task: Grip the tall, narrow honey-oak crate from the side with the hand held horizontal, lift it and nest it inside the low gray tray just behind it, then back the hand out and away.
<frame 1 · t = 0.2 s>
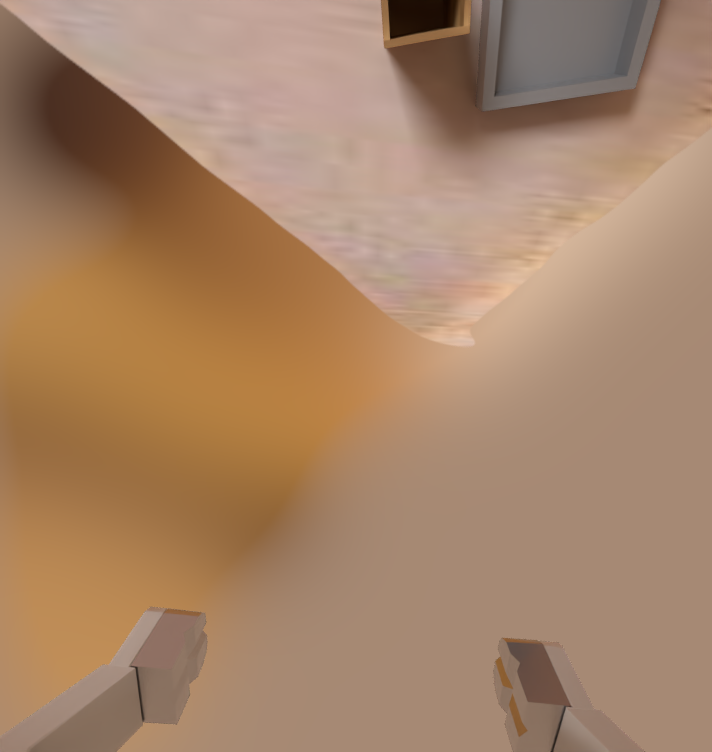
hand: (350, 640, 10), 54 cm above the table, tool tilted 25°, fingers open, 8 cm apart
oak crate: (414, 2, 40), on the table
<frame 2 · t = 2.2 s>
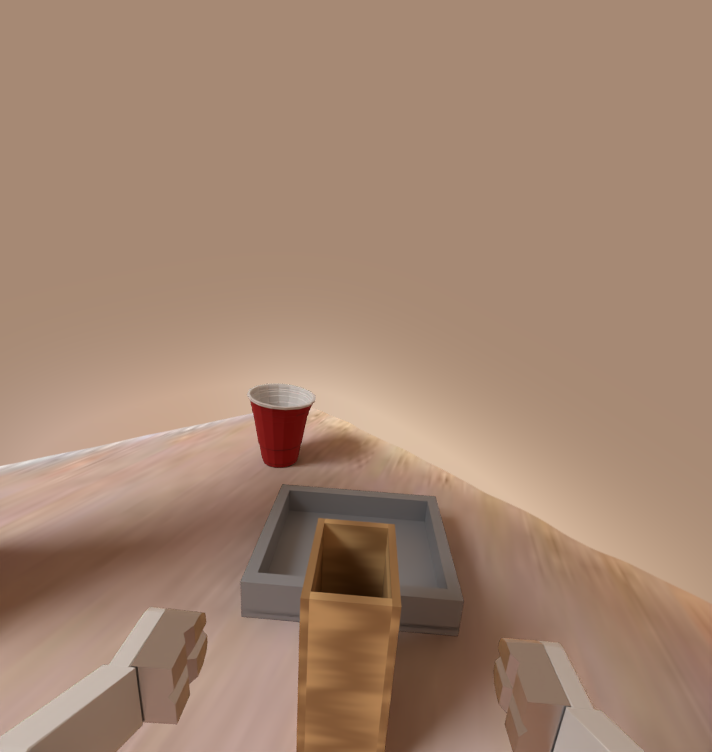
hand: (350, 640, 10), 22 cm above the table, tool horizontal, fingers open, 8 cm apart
oak crate: (342, 712, 28), on the table
plastic cup: (281, 460, 64), on the table
gray tray: (353, 561, 42), on the table
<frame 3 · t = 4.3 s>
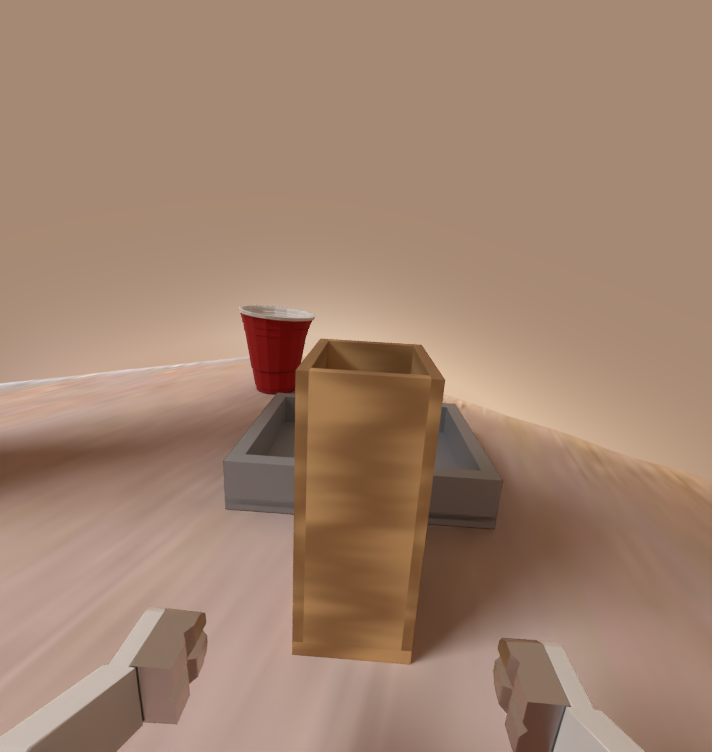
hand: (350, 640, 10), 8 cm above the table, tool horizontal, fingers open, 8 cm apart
oak crate: (354, 597, 21), on the table
plastic cup: (277, 389, 57), on the table
gray tray: (361, 465, 36), on the table
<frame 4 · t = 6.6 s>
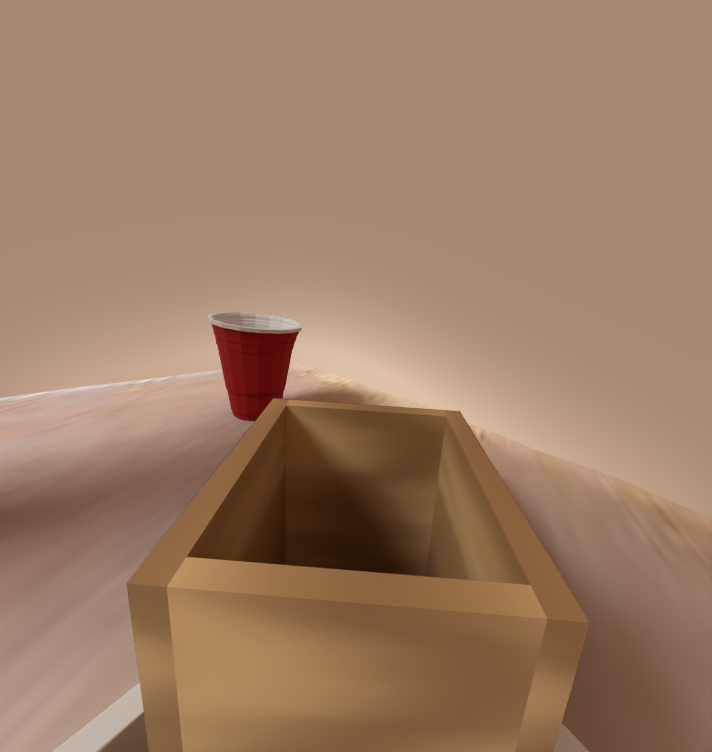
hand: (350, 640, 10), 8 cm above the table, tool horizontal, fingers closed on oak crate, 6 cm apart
plastic cup: (258, 413, 47), on the table
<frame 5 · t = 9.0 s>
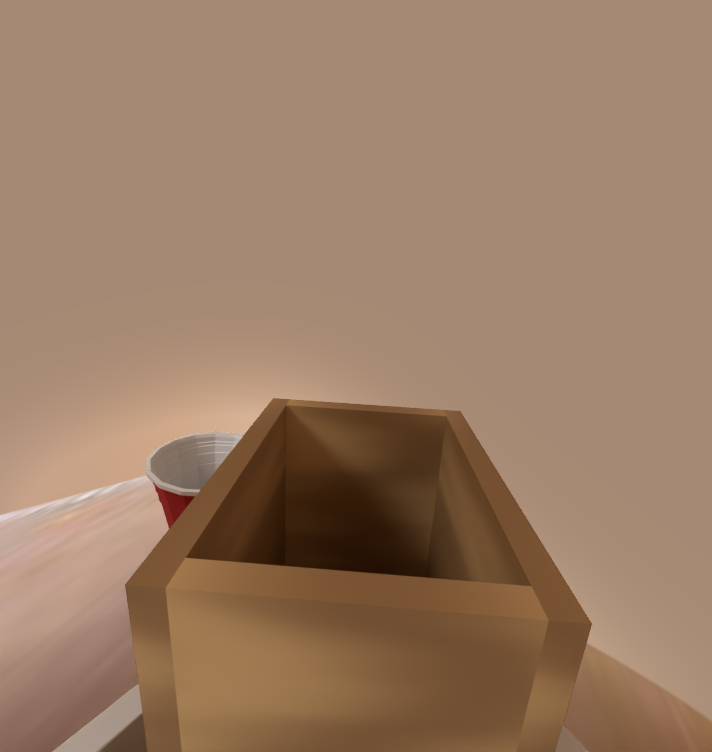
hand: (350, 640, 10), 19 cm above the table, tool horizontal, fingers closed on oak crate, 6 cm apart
plastic cup: (218, 564, 37), on the table
when the fingers open (10 cm above the table, at t = 11.3 s): oak crate drops 1 cm, resting on gray tray.
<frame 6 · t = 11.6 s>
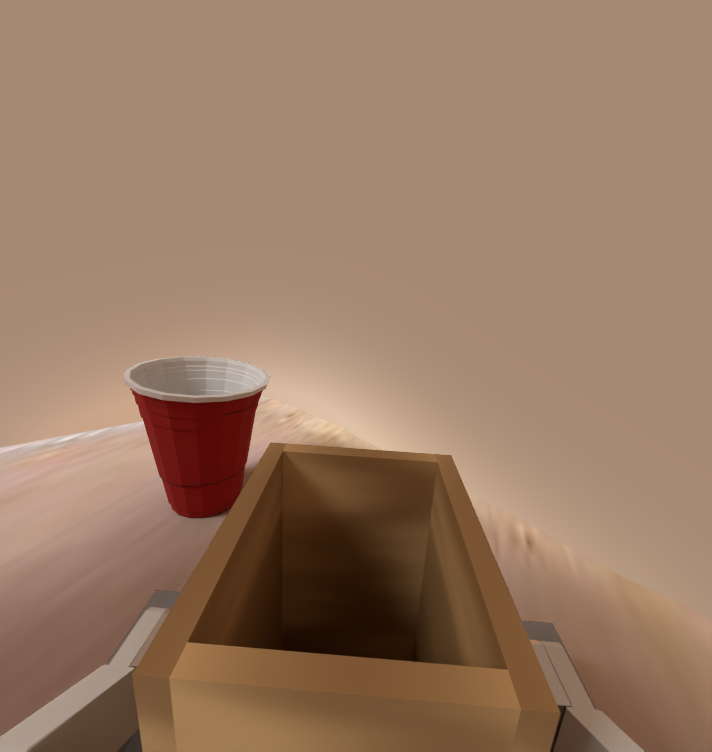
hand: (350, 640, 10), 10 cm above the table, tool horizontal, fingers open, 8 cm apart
plastic cup: (209, 500, 34), on the table
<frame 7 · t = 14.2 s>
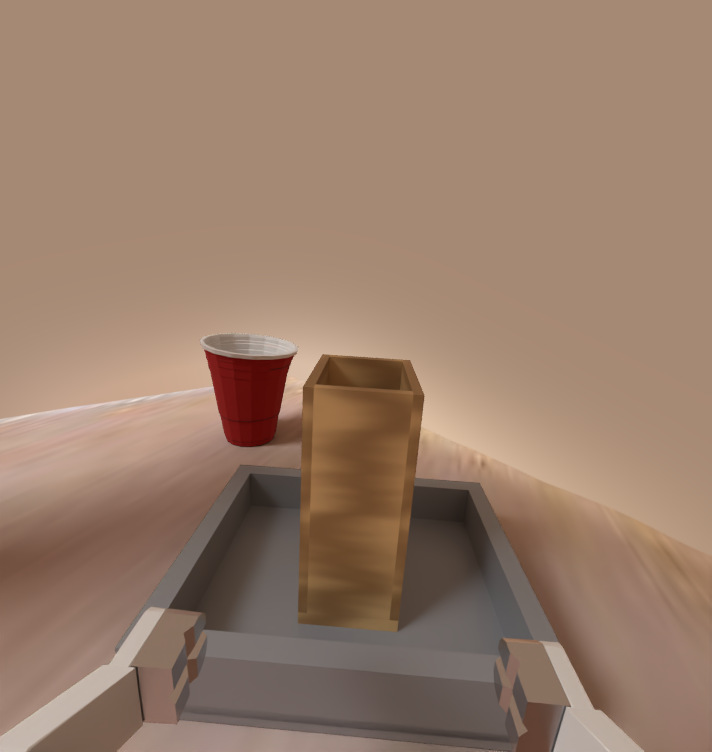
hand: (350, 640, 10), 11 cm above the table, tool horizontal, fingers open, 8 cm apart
oak crate: (350, 578, 24), point 1 cm above the table, touching gray tray
plastic cup: (252, 438, 46), on the table
gray tray: (350, 590, 25), on the table
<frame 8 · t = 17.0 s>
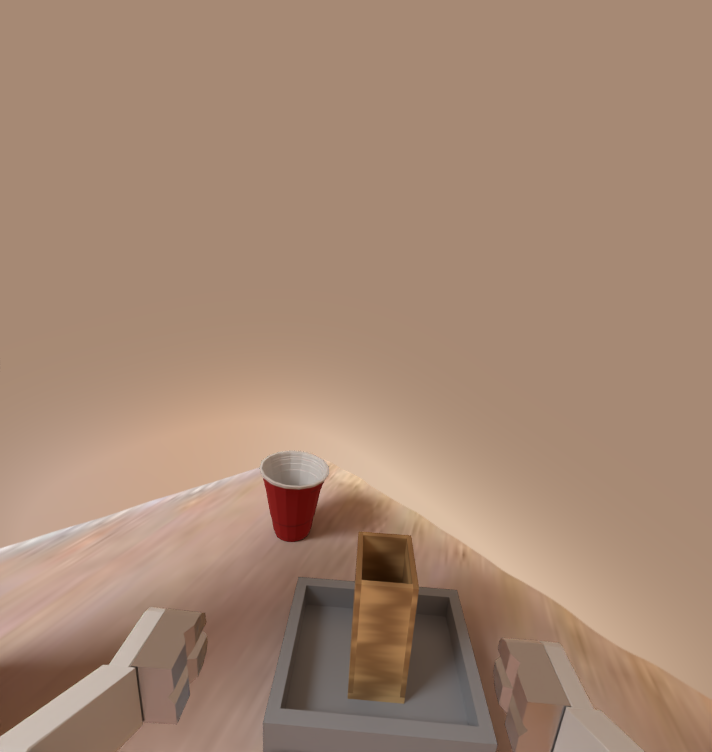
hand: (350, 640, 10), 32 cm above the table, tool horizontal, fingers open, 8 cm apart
oak crate: (375, 665, 41), point 1 cm above the table, touching gray tray
plastic cup: (293, 531, 62), on the table
gray tray: (375, 672, 41), on the table
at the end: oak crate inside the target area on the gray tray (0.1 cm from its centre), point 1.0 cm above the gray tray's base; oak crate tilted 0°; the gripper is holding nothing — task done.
